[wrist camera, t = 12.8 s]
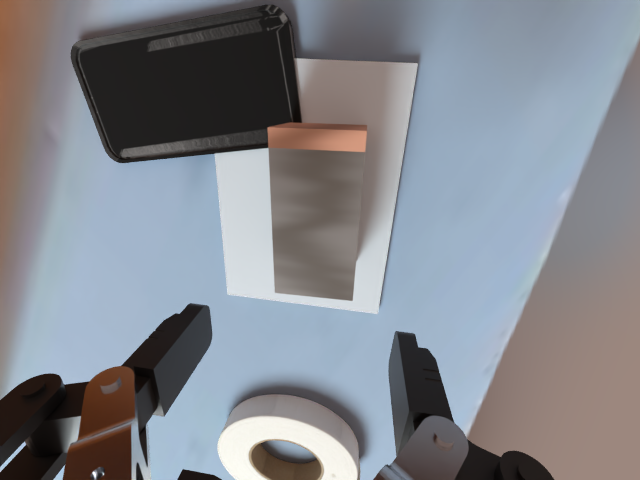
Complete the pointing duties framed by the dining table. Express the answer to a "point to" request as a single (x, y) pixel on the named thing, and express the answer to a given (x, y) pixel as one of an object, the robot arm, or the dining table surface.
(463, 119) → the dining table surface
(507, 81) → the dining table surface
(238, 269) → the mat
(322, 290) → the block
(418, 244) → the dining table surface
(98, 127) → the phone
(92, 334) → the dining table surface
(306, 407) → the roll of tape
